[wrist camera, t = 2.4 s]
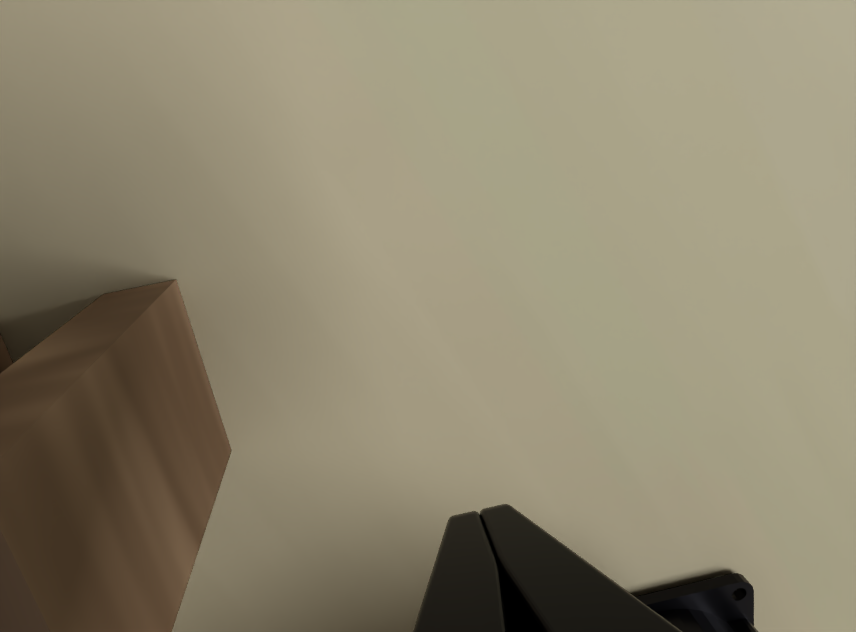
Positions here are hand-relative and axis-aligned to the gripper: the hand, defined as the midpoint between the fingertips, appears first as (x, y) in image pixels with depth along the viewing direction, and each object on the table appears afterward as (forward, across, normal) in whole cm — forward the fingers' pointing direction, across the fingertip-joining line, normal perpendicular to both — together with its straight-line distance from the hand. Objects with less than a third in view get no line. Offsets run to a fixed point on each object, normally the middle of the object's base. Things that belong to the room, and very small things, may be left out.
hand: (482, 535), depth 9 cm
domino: (+9, +7, 0) cm, 11 cm away
